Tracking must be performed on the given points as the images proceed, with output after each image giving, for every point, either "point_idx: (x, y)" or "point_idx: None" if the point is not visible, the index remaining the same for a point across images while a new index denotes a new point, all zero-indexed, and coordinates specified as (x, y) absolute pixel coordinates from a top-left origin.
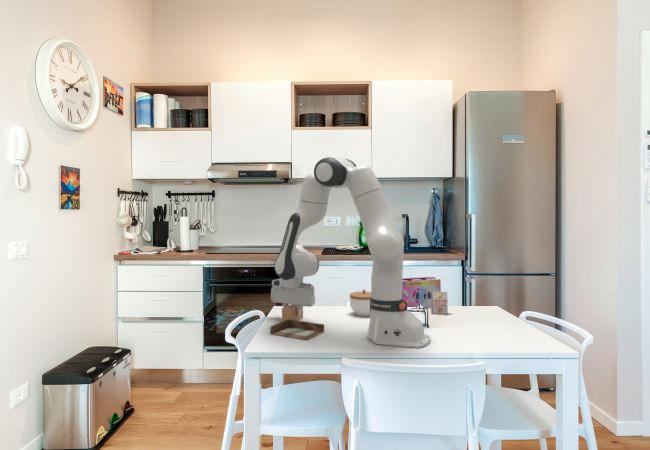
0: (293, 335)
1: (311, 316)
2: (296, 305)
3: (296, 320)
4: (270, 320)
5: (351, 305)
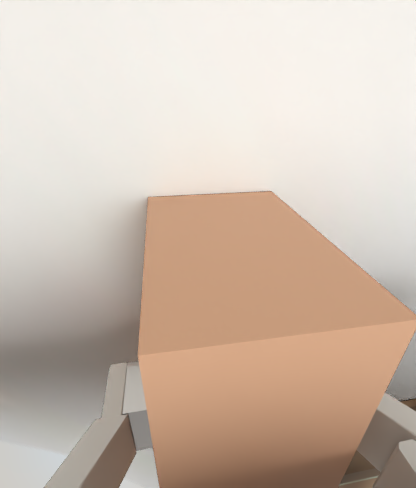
0: (371, 484)
1: (342, 15)
2: (300, 450)
3: (367, 470)
4: (29, 412)
5: None
